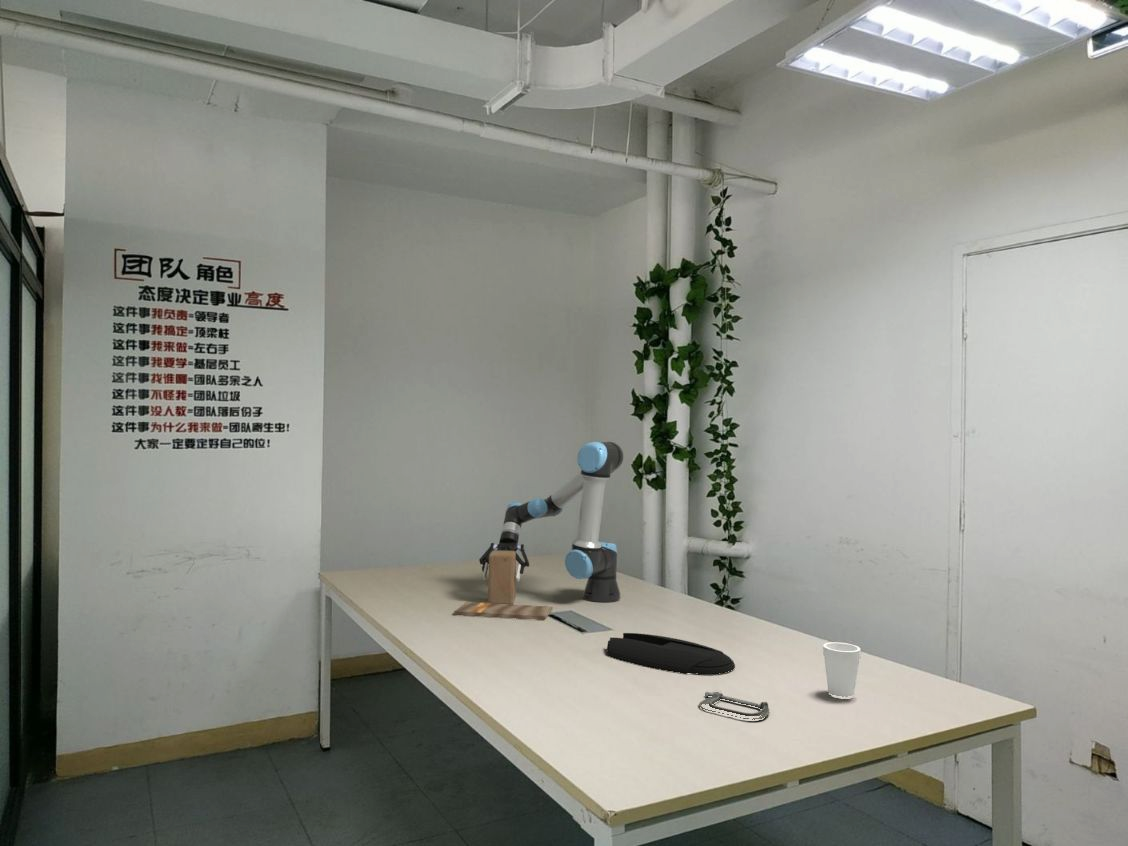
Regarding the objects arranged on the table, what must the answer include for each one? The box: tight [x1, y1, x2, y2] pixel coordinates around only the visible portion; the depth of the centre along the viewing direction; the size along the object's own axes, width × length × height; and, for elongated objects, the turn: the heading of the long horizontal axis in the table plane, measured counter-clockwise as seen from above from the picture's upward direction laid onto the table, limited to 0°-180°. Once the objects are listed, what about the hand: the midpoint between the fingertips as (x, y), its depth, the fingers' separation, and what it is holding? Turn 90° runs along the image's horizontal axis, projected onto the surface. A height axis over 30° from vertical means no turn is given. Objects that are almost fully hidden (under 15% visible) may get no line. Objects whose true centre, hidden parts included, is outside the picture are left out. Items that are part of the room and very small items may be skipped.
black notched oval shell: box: [606, 632, 736, 675], centre depth 249 cm, size 25×41×5 cm, turn 52°
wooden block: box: [487, 549, 517, 605], centre depth 322 cm, size 10×10×20 cm
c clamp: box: [698, 690, 770, 720], centre depth 207 cm, size 20×17×3 cm
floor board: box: [453, 601, 554, 621], centre depth 304 cm, size 34×16×2 cm, turn 81°
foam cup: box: [822, 641, 862, 697], centre depth 217 cm, size 10×9×13 cm
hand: (500, 579), depth 320 cm, fingers open, 13 cm apart
